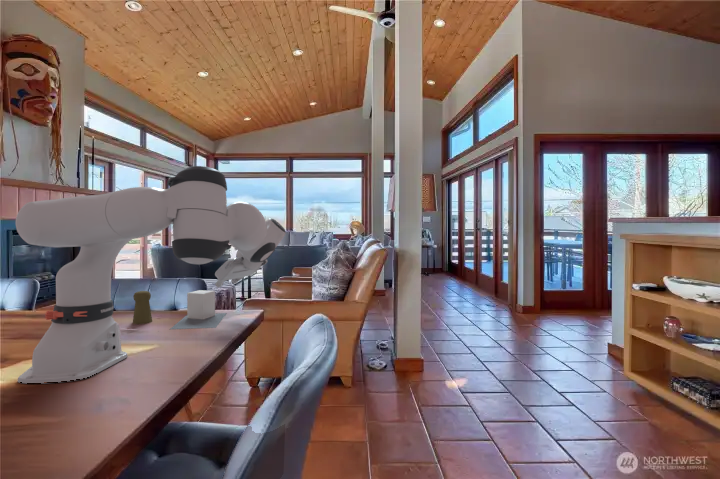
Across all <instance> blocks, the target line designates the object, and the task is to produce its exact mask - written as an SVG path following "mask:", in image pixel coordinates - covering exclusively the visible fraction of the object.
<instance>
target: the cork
mask: <svg viewBox="0 0 720 479" xmlns="http://www.w3.org/2000/svg"><path fill="white" fill-rule="evenodd" d="M151 297H152V294H151V292H150V291H148V290H139V291H135V292H134V293H133V297H132V298H133V300H134V308H133V318H132V324H133V325H145V324H150V323H152V322H153V317H152V310H151V306H150V305H151V304H150V303H151V302H150V300H151Z"/></svg>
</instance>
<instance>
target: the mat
mask: <svg viewBox="0 0 720 479" xmlns="http://www.w3.org/2000/svg"><path fill="white" fill-rule="evenodd" d="M227 314H228V313H227V312H224V313H223V312H221V313H216V312H215V316H212V317H209V318H206V319H191V318H188V316H187V314H186V315H185V316H184V317H183V318H181V319H180V320H179V321H178V322H177V323H176V324H174V325H173V326H172V327H171V328H169V330H189V329H190V330H191V329H194V330H195V329H216V328H217V327H218V326H219V325H220V323H221V322H222V321H223V319H224V318H225V317H226V315H227Z"/></svg>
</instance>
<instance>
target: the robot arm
mask: <svg viewBox="0 0 720 479" xmlns="http://www.w3.org/2000/svg"><path fill="white" fill-rule="evenodd" d="M166 184H167V186H168V187H169V188H165V189H163V188H158V187H153V186H152V187H151V186H150V187H149V186H135V187H129V188H122V189H119V190H116V191H112V192H111V191H110V192H108V193H103V194H94V195H82V196H80V195H79V196H73V197H71V196H70V197H63V198H56V199H45V200H36V201H35V200H34V201H29V202H26V203H25V204H23V206H22V207H20V209H19V211H18V212H17V215H16V217H15V228H16V232H17V233H18V235H19V236H20V238H21V239H22V240H23V241H24V242H25V243H27V244H28V245H32V246H39V247H46V248H48V247H49V248H73V247H75V248H76V247H78V248H79V247H80V250H79V253H78V254H77V256H76V257H75V258H74V260H72V261H70V262H67V263H66V264H65V265H62V267H60V268H59V270H58V271H57V272H56V276H55V302H56V303H55V305H54V306H53V310H47V311H46V312H45V314H44V315H45V316H44V318H45V320H49V321H50V320H51V323H50V326H49V327H48V328H47V331H45V333H44V335H43V336H42V337H41V339H40V340H39V341H38V344H37V345H36V346H35V348H34V349H33V352H32V361H31V366H30V367H29V368H27V369H26V370H25V371H24V372H23V373H22V374H20V375H19V376H18V377H17V383H20V382H22V383H21V384H27V383H41V384H45V383H44V382H58V383H62V382H61V381H67V382H71V381H70V380H74V381H77V380H76V379H80V380H84V379H83V378H85V379H88V378H87V377H89V378H91V377H93V376H94V374H95V375H96V373H97V374H98V373H100V372H102V371H104V370H106V369H107V368H109V367H112V366H114V365H115V364H117V363H119V362H120V361H121V362H122V361H123V360H125V359H126V358H128V352H126V351H122V340H121V330H120V329H121V328H120V324H119V323H118V322H117V321H115V319H114V318H113V314H114V308H115V307H114V301H113V300H112V289H111V288H112V272H113V267H114V264H115V261H116V259H117V257H118V255H119V253H120V251H121V250H122V249H123V248H124V247H125V246H126V245H127V244H128V243H129V242H130V241H132V240H135V239H140V238H146V237H149V236H153V235H155V234H156V233H159V232H161V231H163V230H165V229H167V228H168V227H170V226H171V225H172V241H171V247H172V252H173V255H174V257H176V258H177V259H178V260H179V261H183V262H185V263H187V264H191V265H204V264H208V263H210V262H211V263H213V262H215V261H217V260H218V259H220V258H221V257H222V256H223V255H224V254H225V252H226V251H227V250H230V249H231V247H234V249H235V250H237V251H236V257H235V258H230V259H228V260H226V261H225V262H224V263H222V264H221V266H220V267H219V268H218V269H217V270H216V271H215V273H214V276H215V278H217V280H216V282H215V284H214V285H215V287H216V288H218V289H219V288H221V287H222V286H223V285H224V282H226V281H231V283H232V284H233V285H235V284H238V282H239V281H241V280H242V279H244V278H246V277H251V276H252V275H254V274H256V273H257V272H258V271H259V269H261V268H262V267H263V266H264V265H266V264H267V263H268V259H269V258H270V257H271V256H272V254H273V253H275V251H276V248H277V247H278V245H279V244H280V243H281V241H282V240H283V239H284V238H285V235H286V233H287V231H286V229H285V228H284V227H283V226H282V225H281V224H280V222H278V221H277V220H276V219H274V218H271V217H270V218H268V219H267V220H266V219H265V217H264V215H263V213H262V212H261V211H260V210H259V209H258V208H257V207H256V206H255V205H253V204H251V203H250V202H249V203H248V202H245V201H236V202H232V203H231V204H229V205H228V204H227V202H228V200H227V191H228V185H227V179H226V177H225V174H223V172H221V171H220V170H218V169H217V168H213V167H210V166H205V165H191V166H188V167H186V168H184V169H182V170H181V171H179V172H177V174H176V175H175V176H174V177H169V179H168V180H167V182H166ZM92 375H93V376H92ZM90 376H91V377H90Z"/></svg>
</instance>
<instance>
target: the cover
mask: <svg viewBox="0 0 720 479" xmlns="http://www.w3.org/2000/svg"><path fill="white" fill-rule="evenodd" d="M186 297H187V298H186V299H187V303H186V304H187V306H186V307H187V314H186V315H187V316H188V318H191V319H206V318H209V317H212V316H215V313H216V291H215V290H205V289H204V290H202V289H199V290H195V291H190V292H187V296H186Z"/></svg>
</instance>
